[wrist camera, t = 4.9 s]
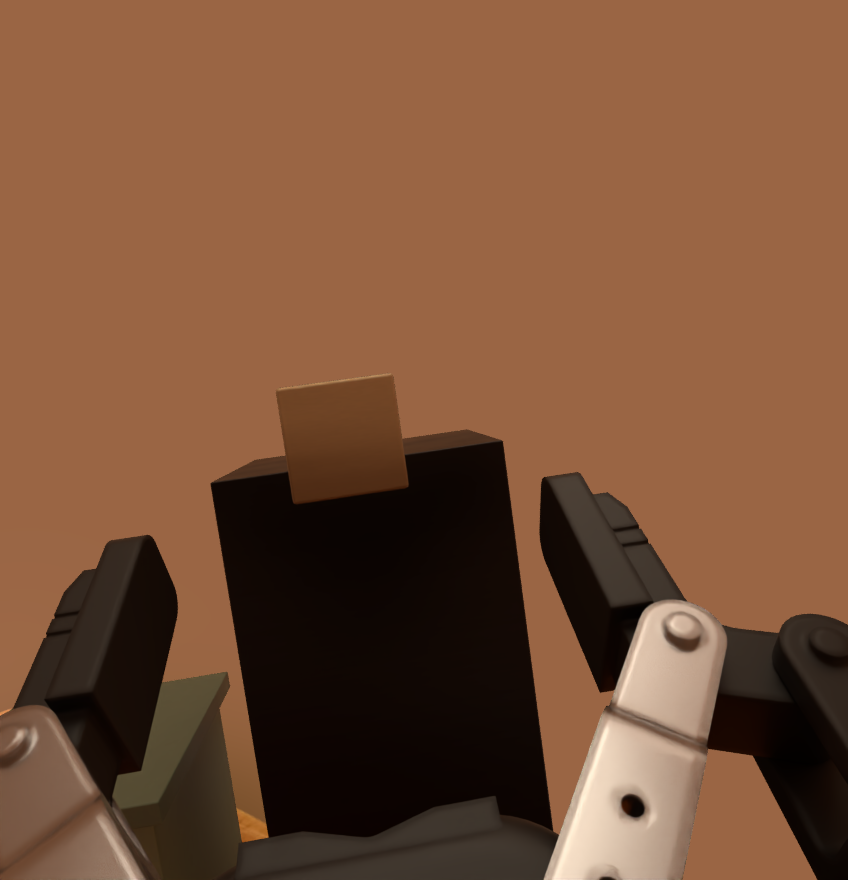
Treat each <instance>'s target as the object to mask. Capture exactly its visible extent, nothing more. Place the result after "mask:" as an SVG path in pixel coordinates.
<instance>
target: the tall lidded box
mask: <svg viewBox="0 0 848 880" xmlns="http://www.w3.org/2000/svg"><path fill="white" fill-rule="evenodd" d="M229 687H230V684H229V678H228V673H227V672H223V673H217V674H211V675H205V676H199V677H193V678H187V679H181V680H175V681H169V682H163V683H162V684H161V688H160V693H159V697H158V701H157V705H156V710H155V714H154V718H153V723H152V727H151V731H150V735H149V740H148V744H147V748H146V753H145V757H144V761H143V766H142V770H141V771H138V772H133V773H127V774H121V775H118V776H117V780H116V784H115V788H114V792H113V795H112V796H113V797H114V799H115V800H116V802H117V804H118V805H119V807H120V809H121V810H122V812H123V814H124V816H125V817H126V819H127V821H128V822H129V824H130V826H131V828H132V829H133V831H134V833H135V834H136V836H137V838H138V840H139V841H140V843H141V845H142V846H143V848H144V850H145V852H146V853H147V855H148V857H149V858H150V860H151V862H152V864H153V865H154V867H155V869H156V870H157V872H158V874H159V875H160V877H161V879H162V880H213V879H214V878H216V877H217V876H219V875H220V874H222V873H223V872H225V871H227V870H228V869H230V868H232V867H234V866H236V865H237V855H238V844H239V843H242V840H241V834H240V828H239V822H238V816H237V810H236V804H235V798H234V793H233V787H232V781H231V775H230V769H229V764H228V758H227V751H226V745H225V739H224V733H223V728H222V722H221V715H220V709H219V708H220V706H221V704H222V702H223V700H224V698H225V696H226V694H227V692H228V689H229ZM10 711H11V710H10Z"/></svg>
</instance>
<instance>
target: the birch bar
mask: <svg viewBox="0 0 848 880" xmlns="http://www.w3.org/2000/svg"><path fill="white" fill-rule="evenodd" d="M276 396H277V403H278V409H279V415H280V422H281V428H282V435H283V441H284V448H285V454H286V461H287V467H288V474H289V480H290V486H291V493H292V499H293V503H294V504H304V503H311V502H317V501H324V500H331V499H338V498H344V497H351V496H358V495H364V494H371V493H378V492H384V491H391V490H398V489H405V488H407V487H408V485H409V483H408V476H407V469H406V462H405V455H404V448H403V441H402V434H401V427H400V420H399V414H398V406H397V399H396V391H395V384H394V377H393V375H392V374H390V373H388V374H381V375H374V376H366V377H358V378H351V379H344V380H337V381H329V382H322V383H314V384H307V385H300V386H292V387H285V388H279V389H277V390H276Z"/></svg>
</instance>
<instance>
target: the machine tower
mask: <svg viewBox="0 0 848 880" xmlns="http://www.w3.org/2000/svg"><path fill="white" fill-rule="evenodd" d="M402 441H403V448H404V455H405V462H406V469H407V476H408V483H409V485H408V487H407V488H405V489H398V490H391V491H384V492H378V493H371V494H364V495H358V496H351V497H344V498H338V499H331V500H324V501H317V502H311V503H304V504H294V503H293V499H292V493H291V486H290V480H289V474H288V467H287V461H286V456H280V457H273V458H266V459H259V460H254V461H252V462H250V463H249V464H247V465H245V466H243V467H241V468H239V469H237V470H235V471H233V472H231V473H229V474H227V475H225V476H223V477H221V478H219V479H217V480H216V481H214V482H212V483H211V490H212V496H213V502H214V508H215V514H216V520H217V526H218V532H219V538H220V545H221V551H222V556H223V563H224V568H225V575H226V581H227V587H228V593H229V598H230V605H231V611H232V617H233V623H234V630H235V635H236V642H237V648H238V654H239V660H240V666H241V672H242V678H243V684H244V690H245V696H246V702H247V708H248V715H249V721H250V726H251V733H252V739H253V745H254V751H255V757H256V763H257V769H258V775H259V781H260V788H261V793H262V799H263V805H264V812H265V818H266V824H267V830H268V836H269V838H270V837H275V836H281V835H286V834H292V833H297V832H302V831H304V832H314V833H324V834H335V835H345V836H355V837H372V836H375V835H377V834H379V833H381V832H384V831H386V830H388V829H390V828H392V827H394V826H396V825H398V824H400V823H402V822H404V821H406V820H408V819H410V818H412V817H415V816H417V815H419V814H421V813H423V812H425V811H427V810H429V809H431V808H433V807H438V806H443V805H448V804H454V803H459V802H465V801H470V800H475V799H481V798H486V797H492V796H496V801H497V805H498V810H499V814H500V815H506V816H513V817H517V818H521V819H525V820H529V821H531V822H534V823H536V824H539V825H542V826H544V827H545V828H547V829H549V830H551V831H553V825H552V818H551V810H550V802H549V794H548V787H547V779H546V771H545V764H544V757H543V748H542V740H541V732H540V725H539V717H538V710H537V702H536V694H535V686H534V678H533V670H532V663H531V655H530V647H529V640H528V632H527V624H526V617H525V609H524V601H523V593H522V585H521V578H520V570H519V563H518V555H517V548H516V539H515V531H514V524H513V516H512V508H511V501H510V493H509V485H508V478H507V470H506V462H505V454H504V447H503V441H502V440H499V439H495V438H492V437H489V436H486V435H483V434H479V433H476V432H473V431H470V430H461V431H454V432H447V433H440V434H433V435H426V436H419V437H413V438H405V439H402Z"/></svg>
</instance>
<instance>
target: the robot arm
mask: <svg viewBox="0 0 848 880" xmlns="http://www.w3.org/2000/svg"><path fill="white" fill-rule="evenodd" d="M540 543H541V548H542V552H543V556H544V559H545V562H546V564H547V567H548V569H549V571H550V574H551V576H552V579H553V581H554V584H555V586H556V588H557V590H558V593H559V596H560V598H561V600H562V603H563V605H564V607H565V610H566V612H567V615H568V617H569V619H570V622H571V624H572V627H573V629H574V631H575V633H576V636H577V639H578V641H579V643H580V646H581V648H582V651H583V653H584V655H585V658H586V660H587V663H588V665H589V667H590V670H591V672H592V675H593V677H594V679H595V682H596V684H597V686H598V689H599V691H600V693H601V692H607V691H613V690H615V691H614V695H613V697H612V700H611V703H610V705H609V706H606V708H605V709H604V711H603V713H602V716H601V719H600V721H599V724H598V727H597V730H596V733H595V735H594V738H593V741H592V744H591V747H590V750H589V752H588V755H587V758H586V761H585V764H584V767H583V770H582V772H581V775H580V778H579V781H578V784H577V786H576V789H575V792H574V795H573V798H572V801H571V803H570V806H569V809H568V812H567V815H566V818H565V820H564V823H563V826H562V829H561V832H560V835H558V834H556V833H555V832H553V831H551V830H549V829H547V828H545V827H544V826H542V825H539V824H536V823H534V822H531V821H529V820H525V819H521V818H517V817H513V816H506V815H500V814H499V810H498V805H497V801H496V796H492V797H486V798H481V799H475V800H470V801H465V802H459V803H454V804H448V805H443V806H438V807H433V808H431V809H429V810H427V811H425V812H423V813H421V814H419V815H417V816H415V817H412V818H410V819H408V820H406V821H404V822H402V823H400V824H398V825H396V826H394V827H392V828H390V829H388V830H386V831H384V832H381V833H379V834H377V835H375V836H372V837H355V836H345V835H335V834H324V833H314V832H304V831H302V832H297V833H292V834H286V835H281V836H275V837H270V838H265V839H259V840H254V841H248V842H243V843H239V844H238V855H237V865H236V866H234V867H232V868H230V869H228V870H227V871H225V872H223V873H222V874H220V875H219V876H217V877H216V878H214V879H213V880H682V879H683V874H684V869H685V864H686V858H687V854H688V849H689V844H690V839H691V834H692V829H693V824H694V819H695V813H696V809H697V804H698V799H699V794H700V789H701V784H702V779H703V774H704V769H705V764H706V759H707V753H708V749H714V750H720V751H726V752H733V753H740V754H746V755H753V757H754V759H755V761H756V762H757V765H758V766H759V769H760V770H761V772H762V774H763V776H764V778H765V780H766V782H767V784H768V786H769V788H770V789H771V791H772V793H773V795H774V797H775V799H776V801H777V803H778V805H779V807H780V809H781V811H782V813H783V814H784V816H785V818H786V820H787V822H788V824H789V826H790V828H791V830H792V832H793V834H794V835H795V837H796V839H797V841H798V843H799V845H800V847H801V849H802V851H803V853H804V855H805V856H806V858H807V860H808V862H809V864H810V866H811V868H812V870H813V872H814V874H815V876H816V878H817V880H848V625H847V624H845V623H843V622H841V621H839V620H836V619H834V618H831V617H827V616H822V615H817V614H802V615H796V616H794V617H791V618H790V619H788V620H787V621H786V622H785V623H784V624H783V625H782V627H781V629H780V632H779V633H771V632H763V631H754V630H745V629H737V628H731V627H727V626H724V625H721V623H720V622H719V621H718V620H717V619H716V618H715V617H714V616H713V615H712V614H711V613H710V612H708V611H707V610H705V609H704V608H702V607H700V606H698V605H695V604H693V603H690V602H687V600H686V599H685V598H684V597H683V595H682V593H681V591H680V590H679V588H678V587H677V585H676V583H675V582H674V580H673V579H672V577H671V576H670V574H669V572H668V571H667V569H666V568H665V566H664V564H663V563H662V561H661V560H660V558H659V557H658V555H657V553H656V552H655V550H654V549H653V547H652V545H651V544H649V543H648V539H647V538H646V536H645V535H644V533H643V531H642V530H641V529H639V525H638V523H637V522H636V520H635V519H634V517H633V515H632V514H631V512H630V511H629V509H628V507H627V506H625V505H624V504H623V503H621V502H620V501H619V500H617V499H616V498H614V497H613V496H612V495H610V494H609V493H608V492H607V493H600V494H594V495H593V494H592V492H591V491H590V489H589V488H588V486H587V484H586V482H585V480H584V478H583V477H582V476H581V474H580V473H578V472H575V473H569V474H563V475H555V476H549V477H544V478H543V479H542V482H541V503H540ZM177 613H178V602H177V594H176V590H175V587H174V585H173V582H172V580H171V578H170V575H169V573H168V570H167V568H166V566H165V563H164V561H163V559H162V557H161V554H160V552H159V550H158V547H157V545H156V543H155V541H154V539H153V538H152V537H151V536H150V535H144V536H138V537H131V538H124V539H118V540H111V541H109V542H108V543H107V544H106V546H105V548H104V551H103V553H102V556H101V558H100V561H99V563H98V566H97V568H96V569H92V570H85V571H83V572H82V573H81V574H80V575H79V576H78V578H77V579H76V580H75V581H74V582H73V583H72V584H71V585H70V586H69V588H67V590H66V591H65V592H64V594H63V596H62V598H61V601H60V603H59V605H58V607H57V610H56V612H55V614H54V616H55V619H52V621H51V623H50V626H49V628H48V630H47V632H46V635H47V636H46V638H44V639H43V642H42V644H41V646H40V648H39V651H38V653H37V655H36V657H35V660H34V662H33V664H32V667H31V669H30V671H29V674H28V676H27V678H26V680H25V683H24V685H23V687H22V689H21V692H20V694H19V696H18V699H17V701H16V703H15V705H14V707H13V709H12V710H11V711H9V712H7V713H5V714H3V715H1V716H0V880H162V879H161V877H160V875H159V874H158V872H157V870H156V869H155V867H154V865H153V864H152V862H151V860H150V858H149V857H148V855H147V853H146V852H145V850H144V848H143V846H142V845H141V843H140V841H139V840H138V838H137V836H136V834H135V833H134V831H133V829H132V828H131V826H130V824H129V822H128V821H127V819H126V817H125V816H124V814H123V812H122V810H121V809H120V807H119V805H118V804H117V802H116V800H115V799H114V797H113V796H112V795H113V792H114V788H115V784H116V780H117V776H118V775H121V774H127V773H133V772H138V771H141V770H142V766H143V761H144V757H145V753H146V748H147V744H148V740H149V735H150V731H151V727H152V723H153V718H154V714H155V710H156V705H157V701H158V697H159V693H160V688H161V684H162V680H163V675H164V671H165V667H166V662H167V658H168V654H169V650H170V645H171V641H172V637H173V633H174V628H175V624H176V620H177Z"/></svg>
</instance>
